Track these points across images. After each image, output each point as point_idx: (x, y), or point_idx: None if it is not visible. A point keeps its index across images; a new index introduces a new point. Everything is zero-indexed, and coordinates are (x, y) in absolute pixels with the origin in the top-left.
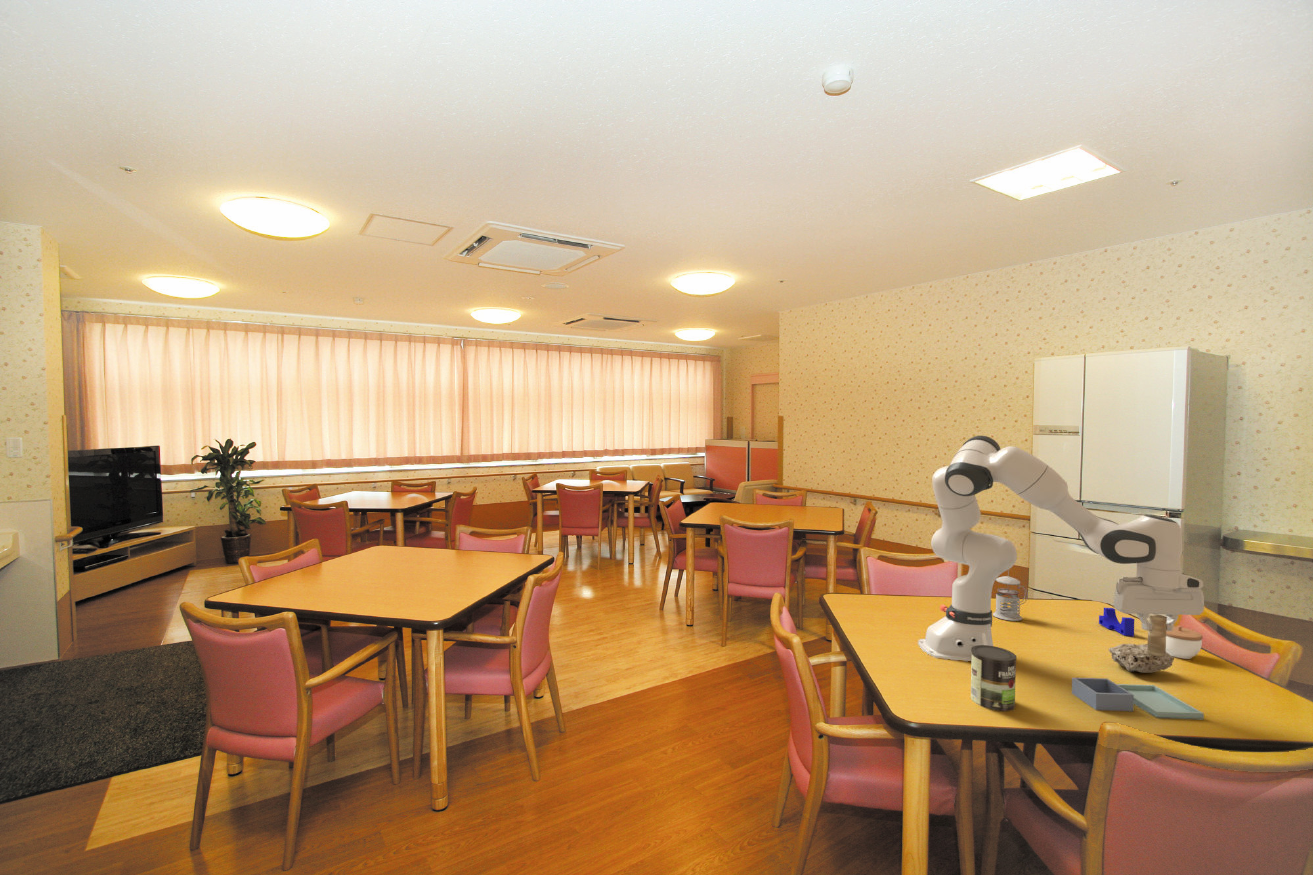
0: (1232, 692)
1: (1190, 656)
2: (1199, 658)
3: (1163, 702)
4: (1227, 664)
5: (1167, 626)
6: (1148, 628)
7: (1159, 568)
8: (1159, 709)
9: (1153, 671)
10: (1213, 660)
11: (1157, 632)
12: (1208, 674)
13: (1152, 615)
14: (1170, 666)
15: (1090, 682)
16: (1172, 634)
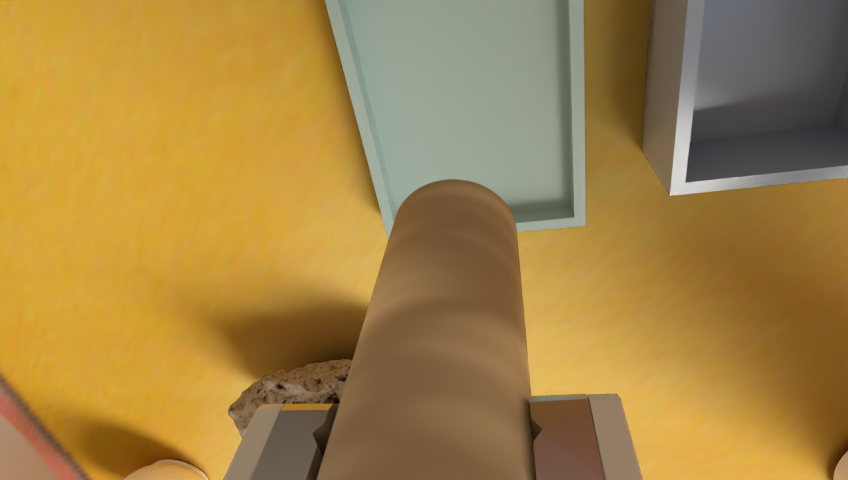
0: (108, 273)
1: (154, 464)
2: (133, 462)
3: (425, 105)
4: (72, 438)
5: (307, 453)
6: (597, 413)
7: None
8: (496, 11)
9: (319, 363)
10: (101, 455)
11: (480, 354)
12: (141, 381)
13: None
14: (252, 384)
15: (777, 162)
16: None
